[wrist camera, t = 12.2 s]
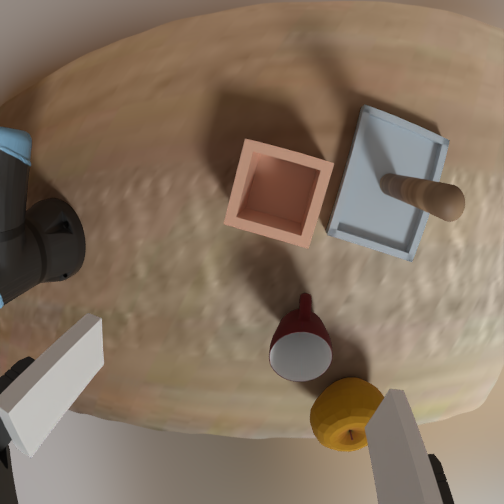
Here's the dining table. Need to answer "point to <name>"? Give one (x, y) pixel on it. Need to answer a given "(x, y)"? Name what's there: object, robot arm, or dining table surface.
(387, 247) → the tray
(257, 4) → the dining table surface
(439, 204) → the dowel
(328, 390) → the apple
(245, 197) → the pink open square box
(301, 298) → the mug
